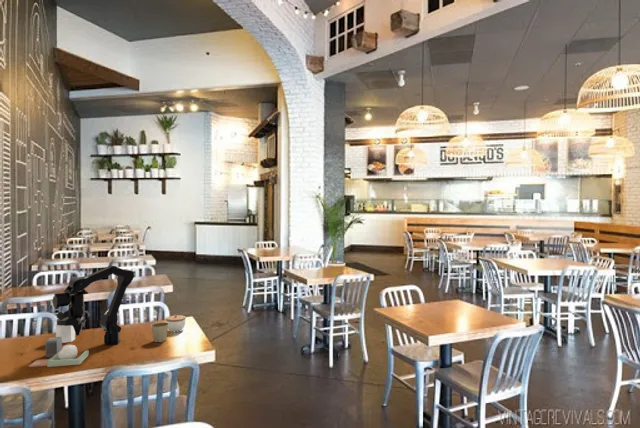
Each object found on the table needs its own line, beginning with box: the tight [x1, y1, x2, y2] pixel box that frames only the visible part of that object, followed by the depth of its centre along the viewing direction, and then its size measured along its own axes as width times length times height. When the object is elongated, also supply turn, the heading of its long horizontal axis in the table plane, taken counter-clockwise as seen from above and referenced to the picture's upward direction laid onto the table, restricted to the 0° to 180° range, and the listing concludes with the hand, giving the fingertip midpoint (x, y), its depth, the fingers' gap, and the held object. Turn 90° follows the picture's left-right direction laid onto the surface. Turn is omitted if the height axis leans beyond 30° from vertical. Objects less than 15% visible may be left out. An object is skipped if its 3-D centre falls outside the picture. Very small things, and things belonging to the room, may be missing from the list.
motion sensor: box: [58, 344, 79, 360], centre depth 206 cm, size 8×8×8 cm
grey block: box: [44, 336, 63, 359], centre depth 215 cm, size 5×6×8 cm
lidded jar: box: [165, 314, 186, 333], centre depth 256 cm, size 11×11×9 cm
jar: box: [55, 317, 76, 344], centre depth 238 cm, size 9×8×12 cm
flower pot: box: [150, 322, 169, 343], centre depth 237 cm, size 9×9×9 cm
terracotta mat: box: [28, 358, 50, 368], centre depth 204 cm, size 8×8×1 cm
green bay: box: [47, 349, 90, 368], centre depth 207 cm, size 13×13×2 cm
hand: (77, 335), depth 220 cm, fingers closed
